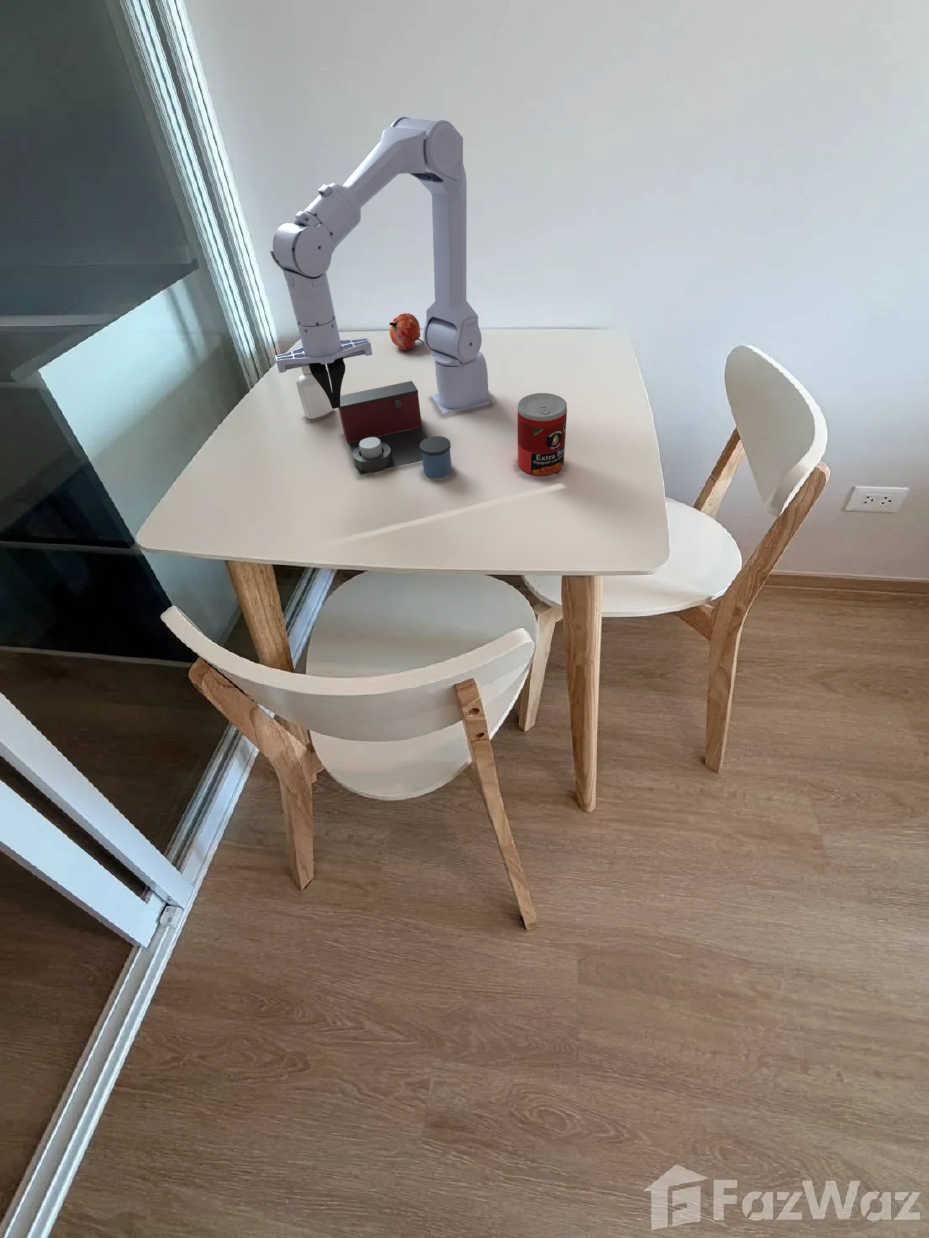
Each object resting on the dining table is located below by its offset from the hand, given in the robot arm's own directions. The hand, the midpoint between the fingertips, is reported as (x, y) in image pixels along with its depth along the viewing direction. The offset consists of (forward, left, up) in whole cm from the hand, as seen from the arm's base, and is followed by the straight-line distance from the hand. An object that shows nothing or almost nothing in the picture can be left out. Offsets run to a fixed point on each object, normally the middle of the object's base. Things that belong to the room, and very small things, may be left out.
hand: (335, 405), depth 101 cm
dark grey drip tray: (-8, 0, -10) cm, 13 cm away
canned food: (-30, +15, -11) cm, 35 cm away
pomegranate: (-22, -42, -11) cm, 49 cm away
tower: (-8, -7, -10) cm, 15 cm away
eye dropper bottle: (+2, -19, -11) cm, 22 cm away
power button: (-4, +3, -8) cm, 10 cm away
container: (-14, +10, -10) cm, 20 cm away
